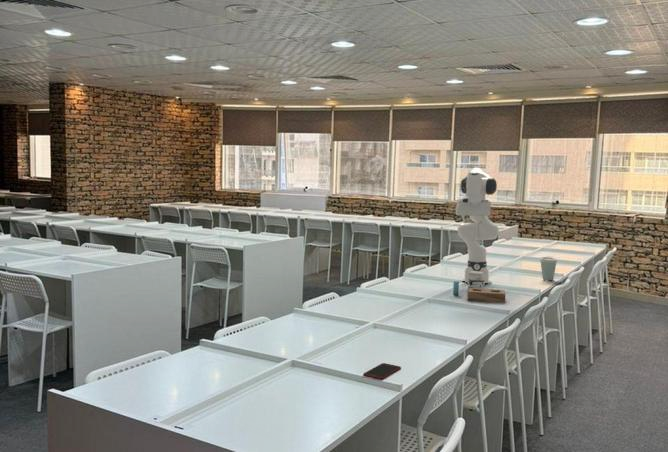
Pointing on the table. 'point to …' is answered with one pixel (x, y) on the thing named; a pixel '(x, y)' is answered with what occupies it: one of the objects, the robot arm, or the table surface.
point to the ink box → (476, 279)
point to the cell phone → (382, 371)
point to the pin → (456, 288)
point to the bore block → (486, 295)
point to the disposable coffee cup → (548, 267)
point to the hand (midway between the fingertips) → (472, 223)
